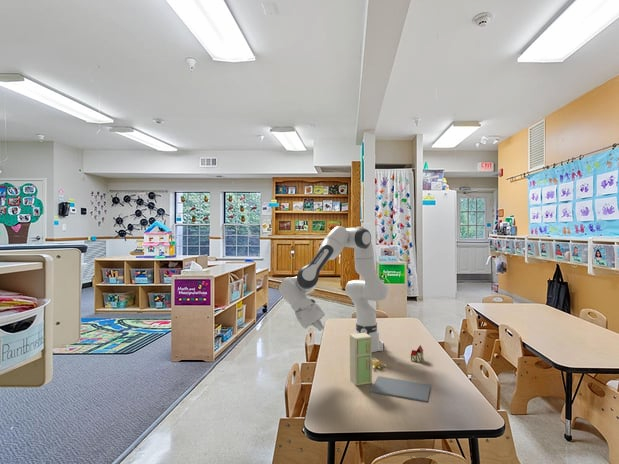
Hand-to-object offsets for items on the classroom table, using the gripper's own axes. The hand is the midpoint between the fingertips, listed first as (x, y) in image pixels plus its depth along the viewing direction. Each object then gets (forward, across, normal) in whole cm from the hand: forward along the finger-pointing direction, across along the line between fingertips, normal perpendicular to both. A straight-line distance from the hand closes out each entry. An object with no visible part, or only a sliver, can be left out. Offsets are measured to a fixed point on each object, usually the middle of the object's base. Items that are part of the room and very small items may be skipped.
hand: (322, 329), depth 166 cm
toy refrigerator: (+29, 0, +2) cm, 29 cm away
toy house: (+42, +36, -11) cm, 56 cm away
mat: (+41, 0, -10) cm, 42 cm away
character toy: (+31, +18, +1) cm, 36 cm away
